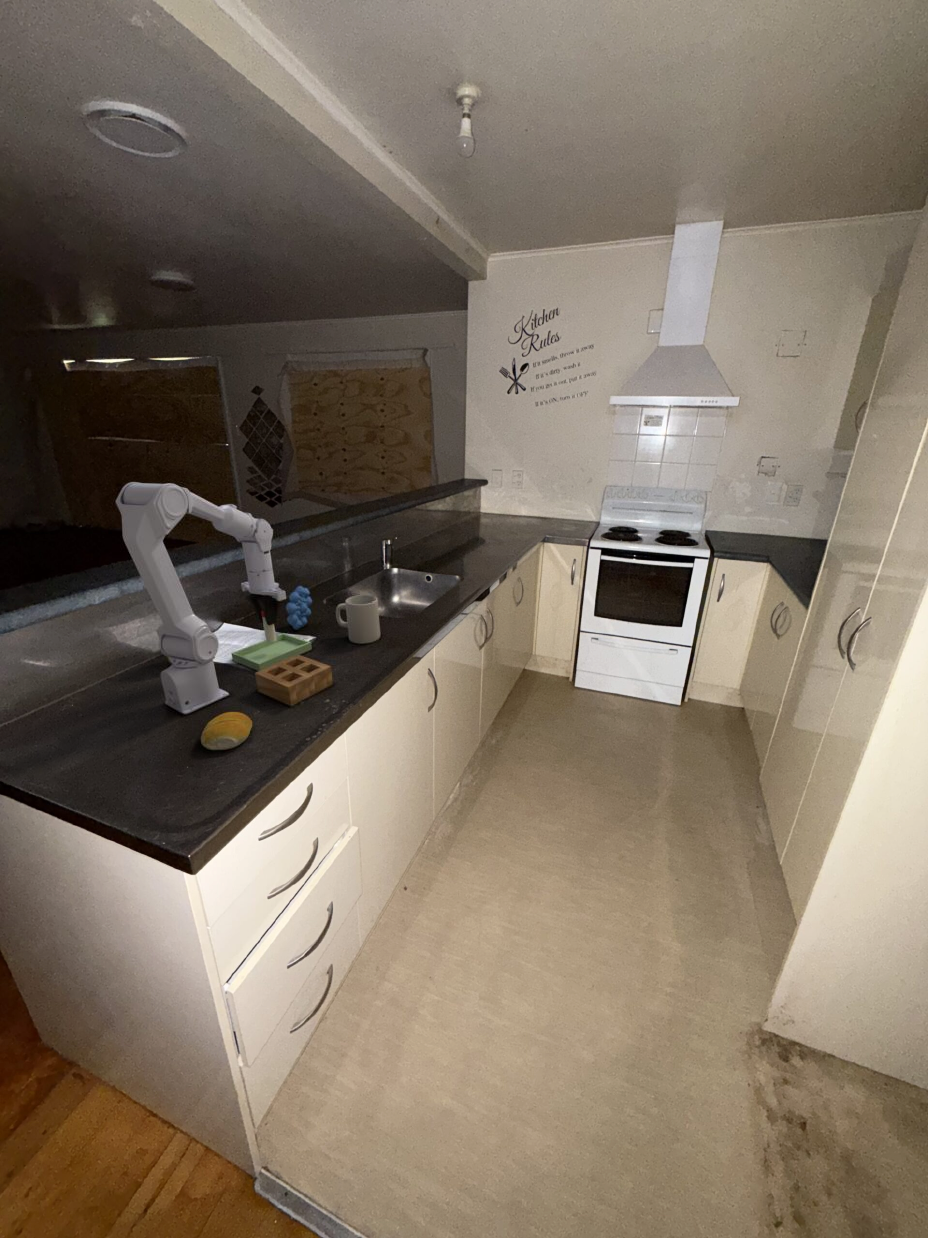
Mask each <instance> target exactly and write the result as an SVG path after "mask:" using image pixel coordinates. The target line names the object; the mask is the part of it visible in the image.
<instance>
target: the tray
mask: <svg viewBox="0 0 928 1238" xmlns="http://www.w3.org/2000/svg"><path fill="white" fill-rule="evenodd" d="M311 650H313V645H312V642H311V641H309V640H305V639H303V638H300V637H296V636H293V635H291V634H288V633H284V632H282V633H280V634H276V642H273V643H267V642H266V639H264V640H262V641H259V642H256V643H253V644H251V645H249V646H245V647H243V648H241V649H238V650H236V651H233V652H231V658H232V659H231V660H232V661H233V662H236V663H238V664H240V665H243V666H245V667H247V668H249V669H250V668H251V669H253V670H255V671H257V672H259V671H261V670H263V669H265V668H268V667H270V666H272V665H275V664H277V663H279V662H281V661H284V660H286V659H288V658H291V657H293V656H295V655H302V654H304V653H307V652H309V651H311Z"/></svg>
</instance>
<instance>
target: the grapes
mask: <svg viewBox="0 0 928 1238" xmlns="http://www.w3.org/2000/svg"><path fill="white" fill-rule="evenodd" d="M310 594H311V592H310V589H308V588H307V587H304V586H302V585H298V586H296V587H295V589H294V591H292V592H291V593H290V594H289V596H288V599H289V602H288V603H287V604H286V605H285V611H286V612H287V614H289V615H288V616H287V618H286V620H287V624H289V625H290V626H291V627H292V629H293V630H295V631H299V630H300V629H301V628H304V627H305V626H306V625H307V624H308V620H307V619H308V618H309V617H310V616H311V615H312V611H311V609H310V606H311V605H312V604H313V600H312V598H311V596H310Z"/></svg>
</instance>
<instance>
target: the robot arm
mask: <svg viewBox="0 0 928 1238" xmlns="http://www.w3.org/2000/svg"><path fill="white" fill-rule="evenodd" d="M115 504H116V507H117V509H118V510H119V512H120V515H121V529H122V539H123V542H124V544H125V546H126V548H127V550H128V552H129V554H130V557H131V559H132V561H133V563H134V565H135V567H136V569H137V572H138V573H139V576H140V578H141V581H142V582H143V584H144V586H145V588H146V590H147V592H148V595H149V597H150V599H151V602H152V603H153V606H154V607H155V609H156V612H157V613H158V616H159V618H160V620H161V622H160V623H161V624H160V623H159V625H158V627H157V628H156V630H155V631H156V633H157V636H158V647H159V650H160V653H162V655H164V656H165V657H167V658H168V657H169V660H170V662H172V663H173V664H172V665H169V667H167V668H165V669H164V670H162V671H161V672H160V681H161V686H162V689H163V693H164V698H165V700H166V701H165V705H166V706H168V707H170V708H172V709H174V710H175V711H177V712H179V713H181V714H183V715H188V714H191V713H193V712H196V711H197V710H199V709H201V708H204V707H206V706H208V705H210V704H212V703H215V702H217V701H220V700H222V699H223V698H226V697H228V696H230V693H229V692H228V691H226V690H223V689H222V688H220V687H219V682H218V681H219V680H218V677H217V672H216V669H215V668H216V667H215V663H214V660H215V659H216V655H217V654H218V651H219V646H220V645H219V638H218V637H217V635H216V634H215V633H213V631H211V629H210V627H209V625H208V624H207V622H205V621H204V620H202V619H201V618H200V617H198V616H197V615H196V614H195V613H194V611H193V609H192V607H191V604H190V602H189V599H188V597H187V594H186V593H185V590H184V588H183V585H182V583H181V581H180V579H179V576H178V573H177V572H176V569H175V567H174V565H173V563H172V562H173V561H172V560H171V558H170V557H171V556H170V555H169V553H168V550H167V548H166V545H165V544H164V539H165V537H166V535H169V534H170V532H171V531H172V530H173V529H174V528H175V527H176V526H177V524H178V523H180V521H181V520H182V519H183V517H184V516H185V515H186V514H188V515H192V516H195V517H197V518H201V519H203V520H206V521H209V522H211V524H212V526H213V527H214V529H215V530H216V531H219V532H221V533H224V534H227V535H229V536H232V537H234V538H235V540H236V541H237V542H238V543H241V545H242V551H243V558H244V564H245V570H246V575H247V581H244V582H241V583H240V587H241V591H242V592H249V593H250V594H248V595H246V596H245V600H246V601H247V602H248V603H249V604H250V606H251V607H252V610H254V613H255V615H256V617H257V619H258V621H259V623H261V624H262V623H263V619H262V614H261V611H263V612H264V616H265V620H266V623H267V625H272V624H274V625H275V624H276V623H277V619H278V614H279V613H278V611H279V608H280V604H281V602H282V601H284V600H286V599H287V595H286V591H285V590H283V589H281V588H280V583H278V582H275V575H274V569H273V562H272V556H271V555H272V554H271V550H272V539H273V536H274V529H273V528H272V527H271V525H270V523H269V522H268V521H267V520H265V519H264V518H254V516H252V514H251V513H250V512H243V511H241V510H239V509H237V508H238V506H237V505H235V504H233V503H227V504H222V505H220V506H218V505H216V504H214V503H213V502H210V501H208V500H206V499H205V498H203V497H201V496H199V495H197V494H195V493H193V492H191V491H190V490H189V489H188V488H186V487H182V486H179V485H177V484H175V483H172V482H171V483H149V482H148V483H144V482H143V483H142V482H137V481H130V482H128V483H126V484H125V485H124V486H122V488H121V490H120V491H119V493H118V496H117V498H116V500H115Z"/></svg>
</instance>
